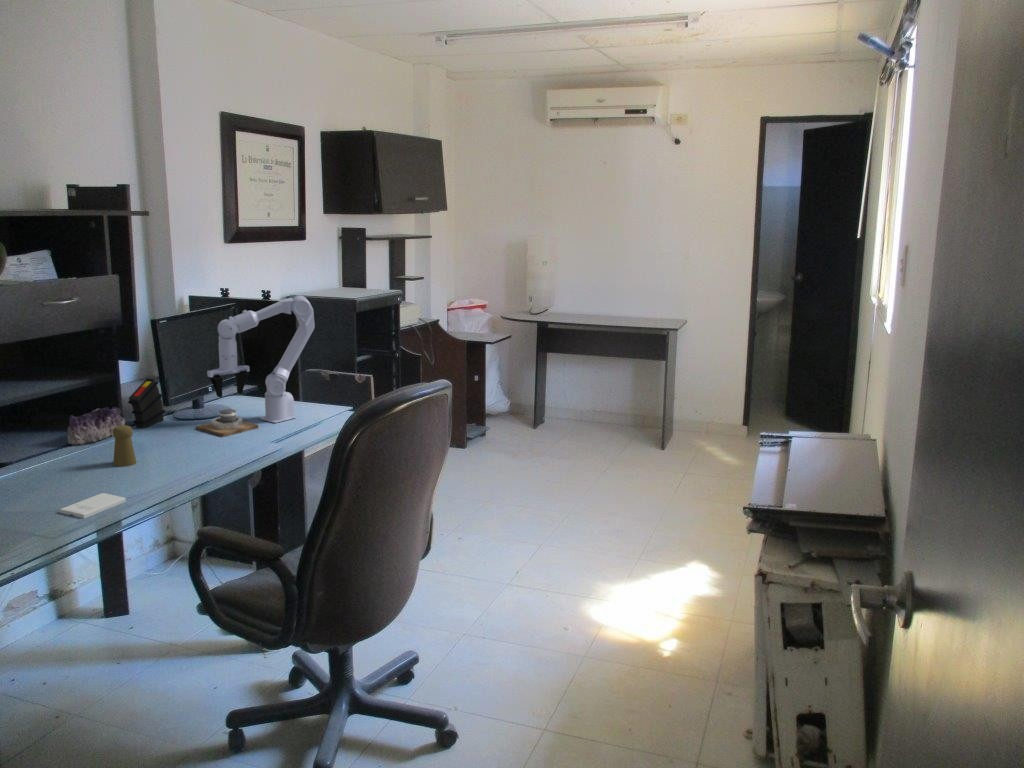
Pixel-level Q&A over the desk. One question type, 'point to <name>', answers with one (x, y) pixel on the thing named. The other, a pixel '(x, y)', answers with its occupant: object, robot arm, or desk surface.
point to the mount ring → (226, 424)
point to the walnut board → (223, 433)
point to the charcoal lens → (227, 415)
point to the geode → (94, 426)
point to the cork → (123, 446)
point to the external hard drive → (92, 505)
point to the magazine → (147, 404)
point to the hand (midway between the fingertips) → (229, 395)
